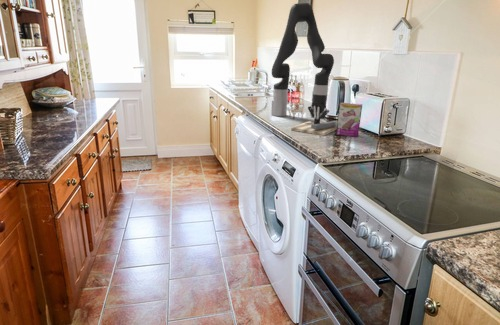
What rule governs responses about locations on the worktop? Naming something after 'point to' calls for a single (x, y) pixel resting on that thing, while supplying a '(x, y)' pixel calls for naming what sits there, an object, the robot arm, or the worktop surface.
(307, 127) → the striped wooden cutting board
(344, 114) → the candy bar box
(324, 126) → the swing bar
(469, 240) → the worktop surface
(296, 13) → the robot arm
